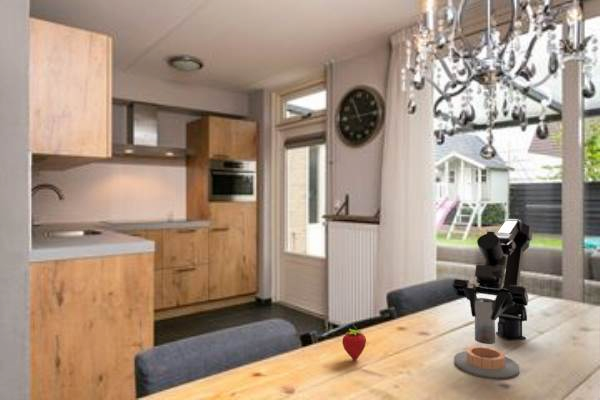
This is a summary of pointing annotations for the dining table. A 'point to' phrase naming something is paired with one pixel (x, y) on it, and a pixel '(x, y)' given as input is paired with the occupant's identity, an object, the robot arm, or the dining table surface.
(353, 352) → the strawberry
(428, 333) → the dining table surface
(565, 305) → the dining table surface
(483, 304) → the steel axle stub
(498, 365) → the slate seat plate
